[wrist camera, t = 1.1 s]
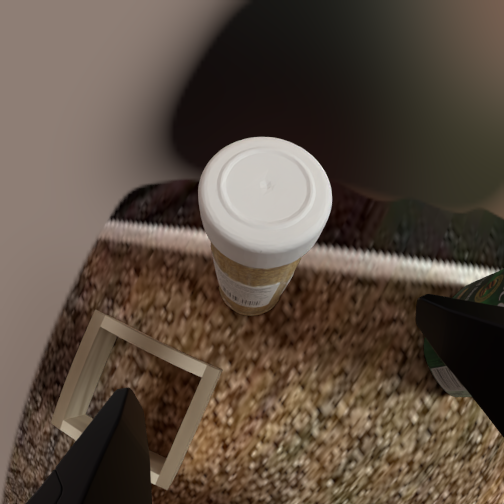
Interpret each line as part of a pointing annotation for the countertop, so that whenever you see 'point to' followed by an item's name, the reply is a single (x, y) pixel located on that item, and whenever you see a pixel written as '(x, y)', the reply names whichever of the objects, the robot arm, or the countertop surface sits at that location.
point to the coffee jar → (482, 291)
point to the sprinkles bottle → (261, 217)
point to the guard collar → (90, 369)
